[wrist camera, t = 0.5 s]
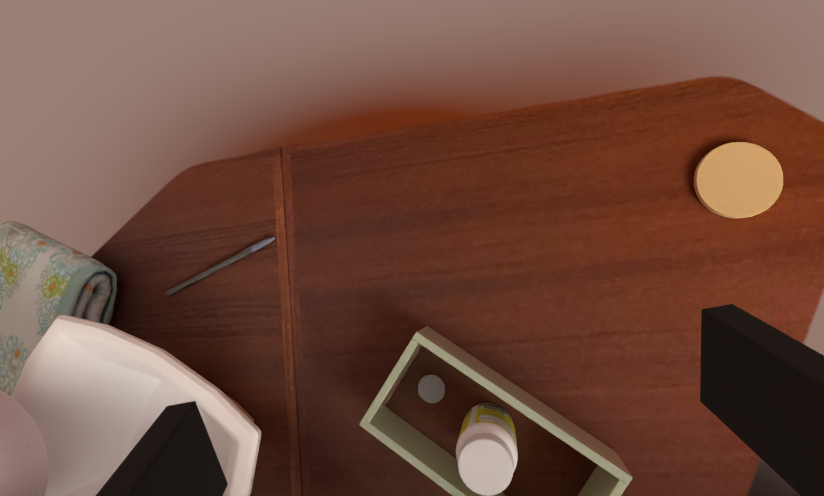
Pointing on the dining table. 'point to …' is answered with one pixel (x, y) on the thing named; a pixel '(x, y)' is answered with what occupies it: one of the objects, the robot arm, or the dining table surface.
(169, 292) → the pen
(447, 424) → the dining table surface
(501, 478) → the supplement bottle
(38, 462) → the toy
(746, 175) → the coaster
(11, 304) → the towel
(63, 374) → the bowl
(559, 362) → the dining table surface
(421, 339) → the open rectangular box
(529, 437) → the dining table surface
